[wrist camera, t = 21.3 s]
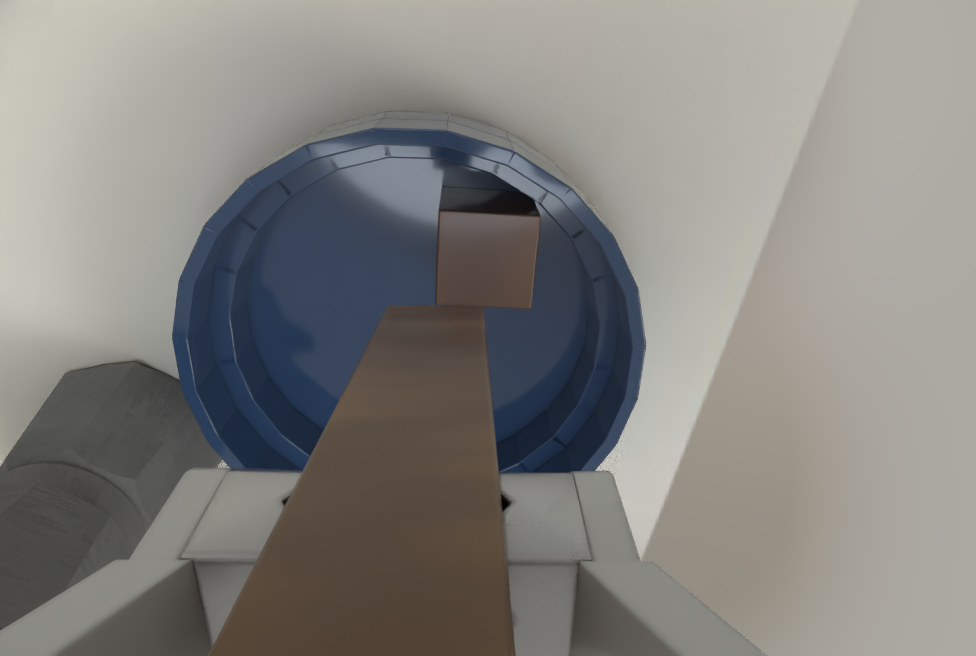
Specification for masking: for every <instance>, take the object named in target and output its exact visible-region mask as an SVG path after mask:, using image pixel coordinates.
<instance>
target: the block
mask: <svg viewBox="0 0 976 656" xmlns="http://www.w3.org/2000/svg"><path fill="white" fill-rule="evenodd" d="M540 222H541V216H540V213H539V211H538V208H537V206H536V203H535V201H534V200H533V199H531V198H530V197H528V196H526V195H525V194H523V193H522V192H518V191H502V190H485V189H469V188H453V187H442V189H441V196H440V204H439V212H438V238H437V264H436V289H435V304H438V305H457V306H481V307H497V308H517V309H531V307H532V298H533V288H534V279H535V270H536V260H537V251H538V241H539V232H540Z"/></svg>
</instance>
